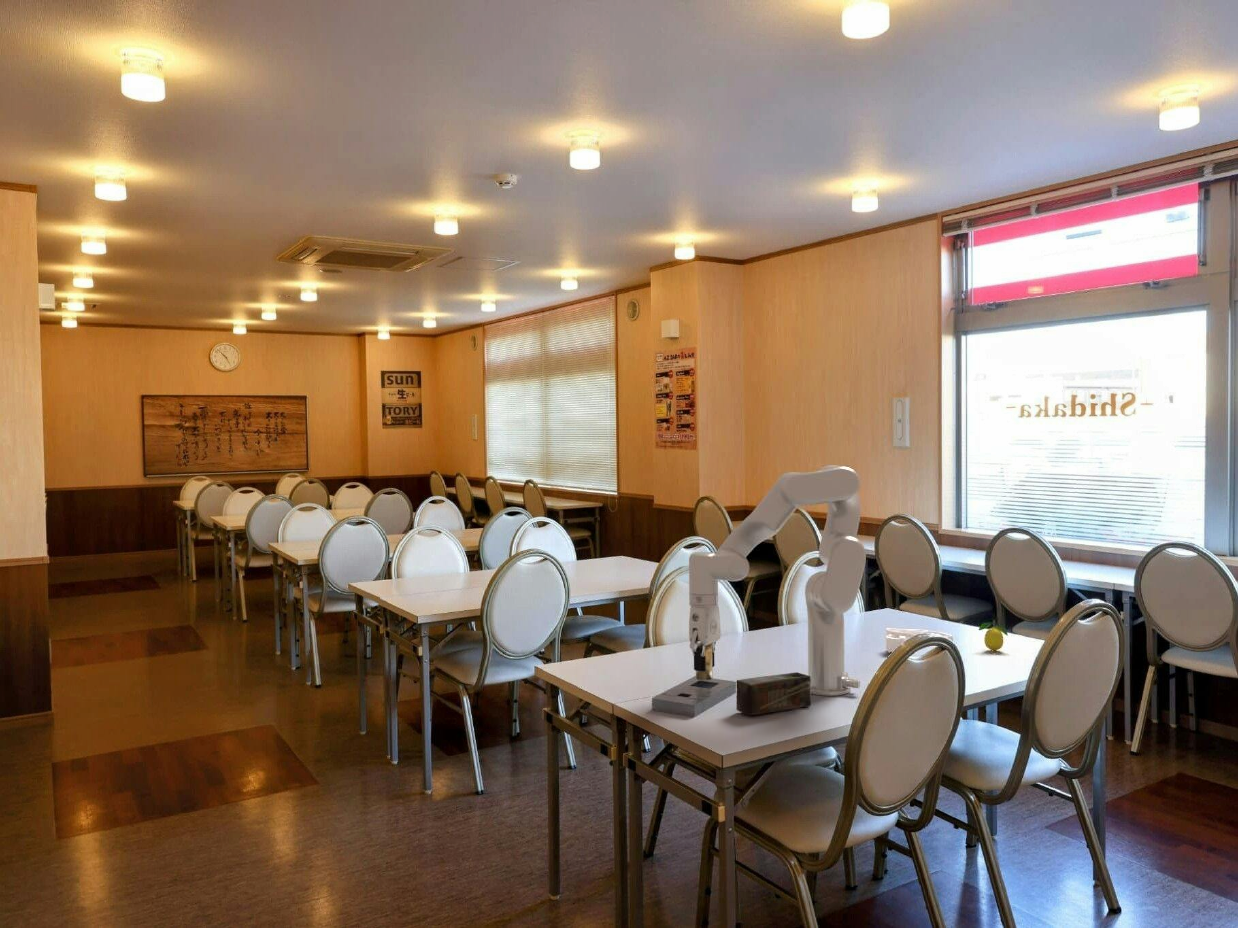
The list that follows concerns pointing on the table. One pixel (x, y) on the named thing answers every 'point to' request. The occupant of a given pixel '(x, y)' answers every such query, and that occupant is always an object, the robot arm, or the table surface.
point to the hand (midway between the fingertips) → (704, 667)
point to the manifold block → (693, 696)
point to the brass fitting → (708, 673)
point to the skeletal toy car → (899, 634)
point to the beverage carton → (773, 693)
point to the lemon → (993, 636)
